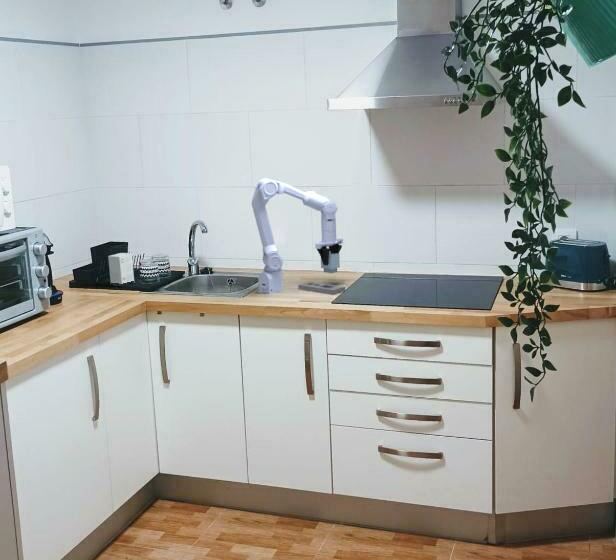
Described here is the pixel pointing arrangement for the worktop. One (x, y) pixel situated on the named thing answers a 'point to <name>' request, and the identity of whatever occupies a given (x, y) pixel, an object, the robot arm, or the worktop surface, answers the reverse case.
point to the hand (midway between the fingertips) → (329, 264)
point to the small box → (121, 268)
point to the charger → (331, 263)
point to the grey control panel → (321, 288)
